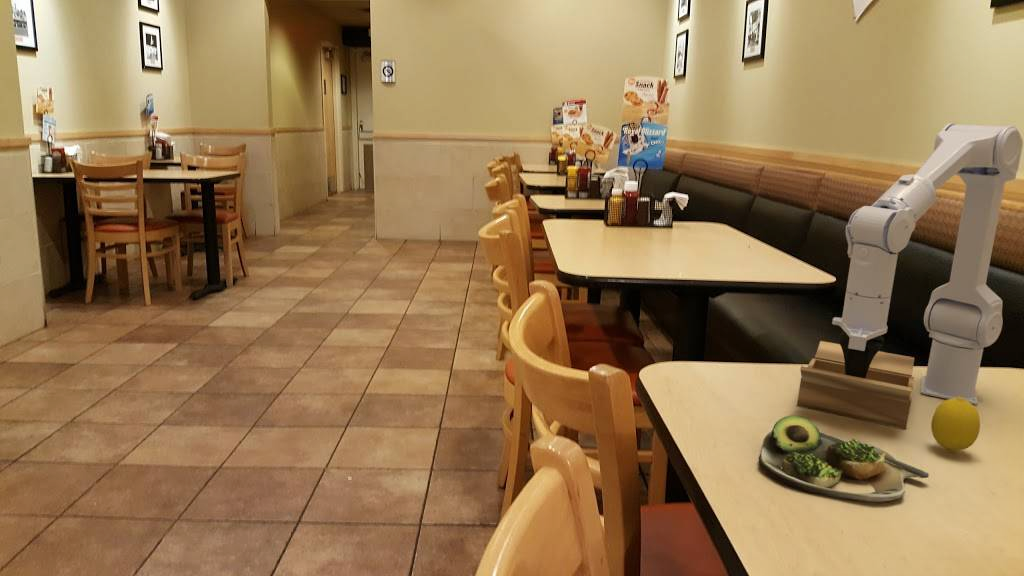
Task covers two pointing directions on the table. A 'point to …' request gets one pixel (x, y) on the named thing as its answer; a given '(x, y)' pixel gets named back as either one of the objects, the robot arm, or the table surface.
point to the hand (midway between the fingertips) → (854, 384)
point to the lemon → (955, 424)
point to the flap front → (856, 384)
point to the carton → (856, 397)
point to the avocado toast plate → (831, 462)
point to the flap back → (879, 362)
